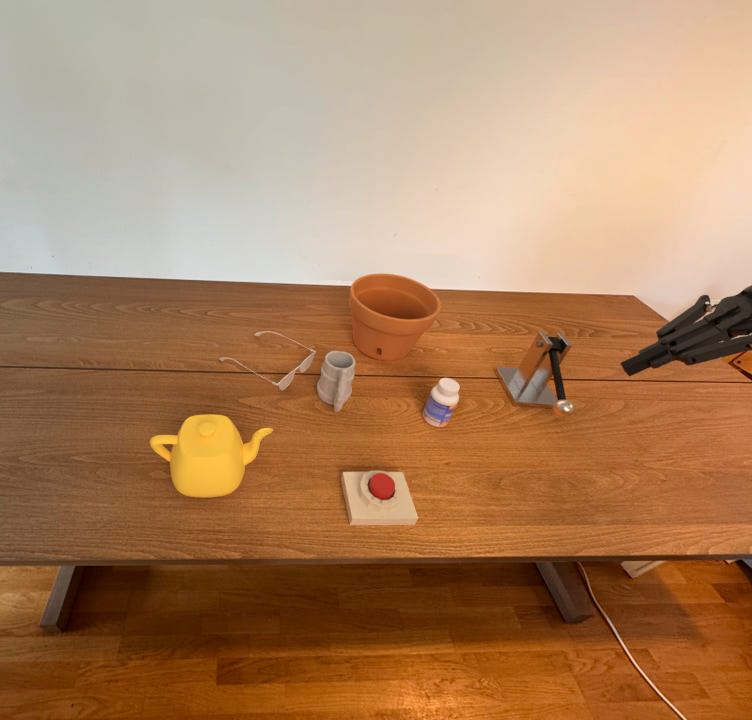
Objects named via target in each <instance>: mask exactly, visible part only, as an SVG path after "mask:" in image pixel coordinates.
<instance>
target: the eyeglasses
mask: <svg viewBox="0 0 752 720" xmlns="http://www.w3.org/2000/svg"><path fill="white" fill-rule="evenodd" d="M267 333H272V334H276V335H278V336H281V337H284V338H286V339H287V340H290V341H292V342H293V343H296V344H298V345H300V346H301V347H304V348H306V349H307V350H309V351H310V352H311V354H309V355H308V356H307V357H306V358H305V359H304V360H303V361H302V362H301V363H300V364H299V365H298V366H297V367H295V368H294V369H293V370H291V371H290V372H288V373H287V374H286V375H285V376H283V378H281V379H280V381H278V382H276V381H271V380H270V379H268V378H266V377H264V376H262V375H260V374H259V373H256V372H255V371H253V370H252V369H250V368H248V367H247V366H245V365H243V364H242V362H239V361H238V360H237V359H235V358H231V357H228V356H227V357H226V356H221V357H219V358H218V360H219V361H221V362H222V363H223V362H225V361H226V360H231V361H234V362H235V363H237V364H239V365H240V366H242V367H244V368H245V369H247V370H249V371H251V372H252V373H253V374H255V375H258V376H259V377H261V378H263V379H265V380H267V381H268V382H270V383H271V385H274V386H276V387H278V389H279V390H280V391H284V390H286V389H287V388H288V386H290V384H291V383H292V381H293V380H294V377H295V375H296V371H298V370H299V372H300V373H301V374H302V373H305V371H307V370H308V369H309V368H310V366H311V364H312V362H313V361H314V357H315V355H316V353H317V351H316V350H314V349H312V348H308V347H307V346H305V345H303V344H301V343H299V342H297V341H295V340H293V339H291V338H289V337H287V336H284V335H283V334H281V333H278V332H275V331H269V330H267V331H266V330H265V331H263V330H262V331H258V332H255V333H253V336H254V337H260V336H261V335H263V334H267Z"/></svg>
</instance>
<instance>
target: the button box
mask: <svg viewBox="0 0 752 720" xmlns="http://www.w3.org/2000/svg"><path fill="white" fill-rule="evenodd" d="M377 473H384V474H387V475H388V476H390V477H391V478H392V479H393V480H394V483H395V489H394V492H393V494H392V496H391V497H390V498H388V499H378V498H376V497H375V496H373V495H372V493H371V492H370V490H369V484H370V481H371V478H372V476H373V475H375V474H377ZM340 483H341V487H342V493H343V497H344V503H345V508H346V512H347V518H348V522H349V523H348V524H349V526H415V525H416V523H417V521H418V520H419V515H418V513H417V510H416V506H415V504H414V501H413V498H412V494H411V491H410V489H409V486H408V483H407V480H406V477H405V474H404V471H384V470H369V471H342V473H341V477H340Z"/></svg>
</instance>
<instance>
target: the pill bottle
mask: <svg viewBox="0 0 752 720" xmlns="http://www.w3.org/2000/svg"><path fill="white" fill-rule="evenodd" d="M460 387H461V386H460V384H459V382H458V381H457V380H455V379H453V378H450V377H443V378H440V379H439V381H438V383H437V385H435V386H433V387H432V388H431V391H430V394H429V396H428V399H427V401H426V404H425V406H424V409H423V410H422V418H423V419H424V421H425V422H426V423H427V424H429V425H430V426H433V427H436V428H442V427H445V426H447V425H448V423H449V422H450V421H451V418H452V416H453V413H454V412H455V408H456V407H457V405H458V403H459V400H460V395H459V391H460V390H461V388H460Z"/></svg>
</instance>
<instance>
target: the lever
mask: <svg viewBox="0 0 752 720" xmlns="http://www.w3.org/2000/svg"><path fill="white" fill-rule="evenodd" d="M547 337H548V338H549V339H550V341H551V342H552V343H553V345H552V346H551V348H550V350H549V351H548V353H549V357H550V362H551V367H552V373H553V376H552V378H553V383H554V389H555V393H556V399H557V400H558V401H556V402H555V403H554V405H553V409H552V411H553V413H554V414H555V415H556V416H558V417H560V418H568V417H570V416H572V415H573V414H574V413H575V405H574V403H573V402H572V401H570V400H568V399H567V397H566V392H565V387H564V381H563V377H562V376H563V375H562V371H561V367H560V366H561V365H559V361H558V355H557V351H559V350H560V349H561V346H560V341H559V337H556V336H547Z"/></svg>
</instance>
